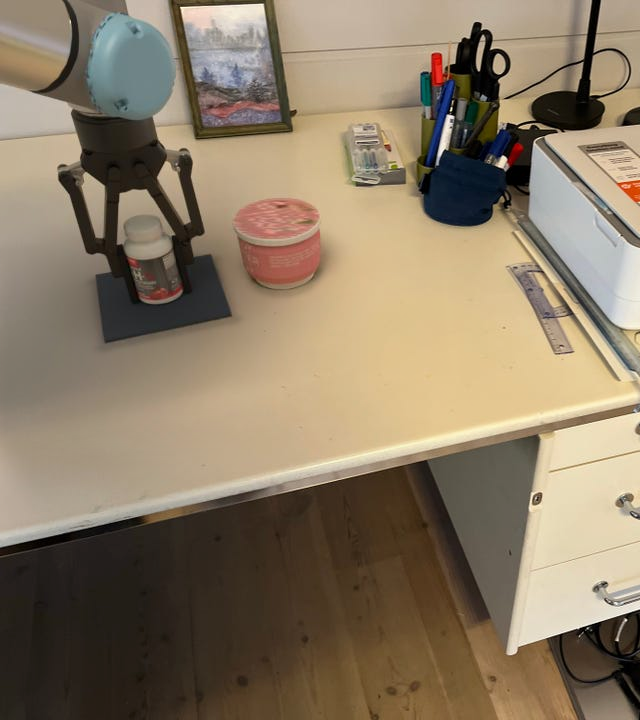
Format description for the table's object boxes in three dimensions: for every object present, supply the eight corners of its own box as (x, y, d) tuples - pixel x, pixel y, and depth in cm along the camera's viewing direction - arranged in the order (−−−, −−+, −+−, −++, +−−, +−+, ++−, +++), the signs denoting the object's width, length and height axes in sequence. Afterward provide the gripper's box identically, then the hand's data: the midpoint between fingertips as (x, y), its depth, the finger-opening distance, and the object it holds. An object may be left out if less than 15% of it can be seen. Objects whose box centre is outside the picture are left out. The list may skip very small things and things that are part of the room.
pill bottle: (130, 304, 89) (107, 232, 83) (148, 278, 93) (128, 208, 87) (174, 308, 89) (155, 236, 83) (191, 282, 93) (174, 212, 87)
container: (323, 295, 94) (317, 239, 88) (236, 296, 92) (226, 240, 87) (328, 250, 101) (323, 196, 96) (248, 250, 100) (239, 196, 95)
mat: (104, 342, 85) (103, 340, 84) (96, 277, 94) (95, 274, 94) (231, 316, 89) (231, 313, 89) (211, 256, 99) (210, 253, 99)
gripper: (197, 81, 82) (232, 261, 97) (7, 100, 76) (76, 290, 91) (209, 107, 77) (244, 292, 92) (7, 130, 70) (79, 325, 86)
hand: (160, 291), depth 91 cm, fingers closed on pill bottle, 5 cm apart
